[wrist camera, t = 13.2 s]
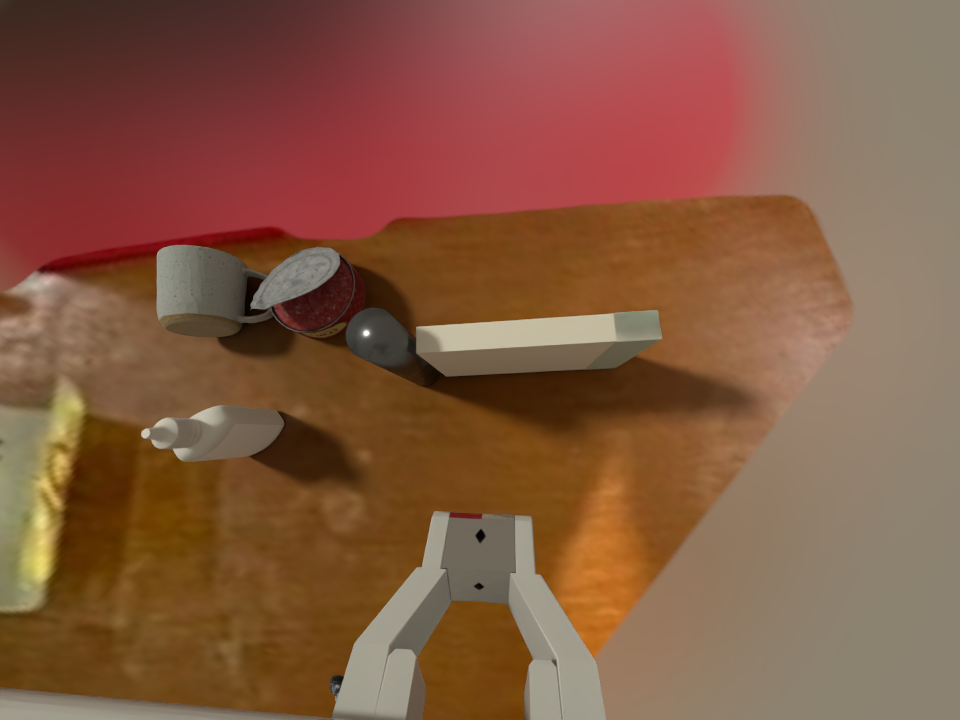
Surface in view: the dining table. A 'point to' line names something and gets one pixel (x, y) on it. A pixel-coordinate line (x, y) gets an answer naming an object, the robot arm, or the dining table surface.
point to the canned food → (313, 293)
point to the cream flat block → (538, 343)
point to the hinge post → (388, 346)
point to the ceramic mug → (203, 291)
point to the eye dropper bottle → (217, 433)
